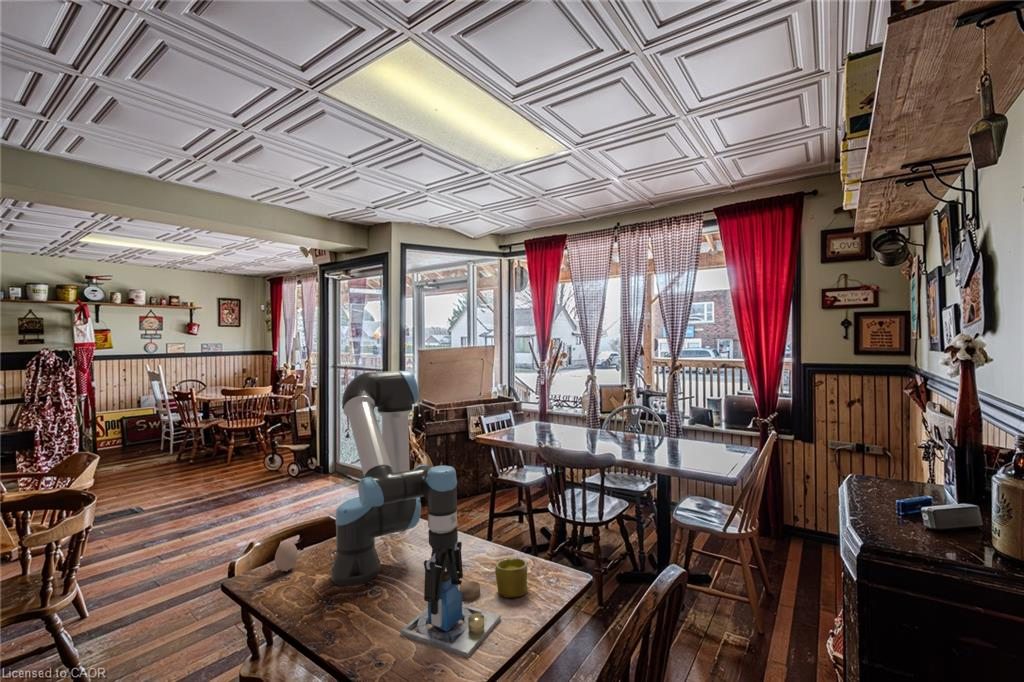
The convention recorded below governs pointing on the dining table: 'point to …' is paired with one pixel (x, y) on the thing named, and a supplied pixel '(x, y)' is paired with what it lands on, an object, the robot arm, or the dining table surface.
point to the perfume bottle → (448, 603)
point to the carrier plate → (455, 631)
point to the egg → (286, 556)
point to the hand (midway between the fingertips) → (445, 616)
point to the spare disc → (470, 590)
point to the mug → (511, 577)
